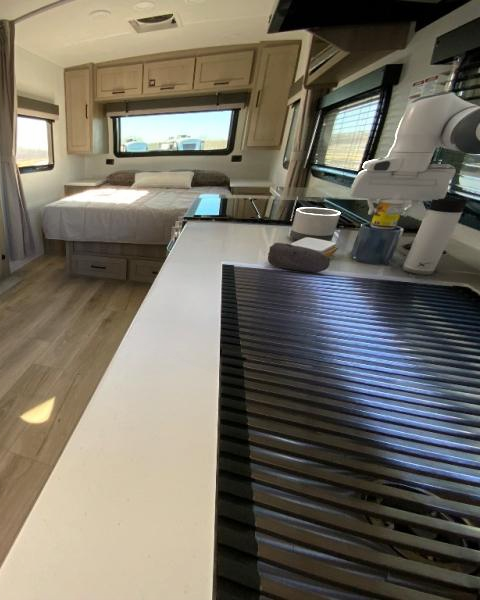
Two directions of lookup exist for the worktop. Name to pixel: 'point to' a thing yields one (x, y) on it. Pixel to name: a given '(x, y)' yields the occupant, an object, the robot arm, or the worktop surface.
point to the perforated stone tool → (297, 258)
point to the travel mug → (434, 235)
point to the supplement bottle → (388, 212)
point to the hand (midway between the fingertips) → (386, 215)
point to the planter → (314, 223)
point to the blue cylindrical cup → (375, 244)
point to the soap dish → (318, 245)
